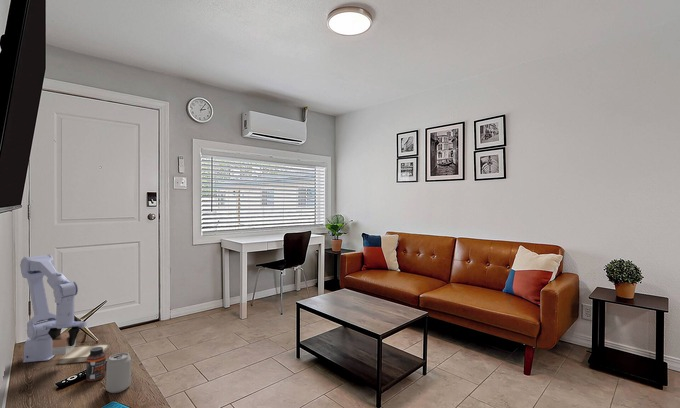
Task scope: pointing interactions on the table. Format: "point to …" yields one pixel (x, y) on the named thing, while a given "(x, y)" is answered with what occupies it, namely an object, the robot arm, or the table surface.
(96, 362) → the supplement bottle
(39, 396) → the table surface
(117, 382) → the can
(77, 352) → the stand board
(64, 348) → the housing
